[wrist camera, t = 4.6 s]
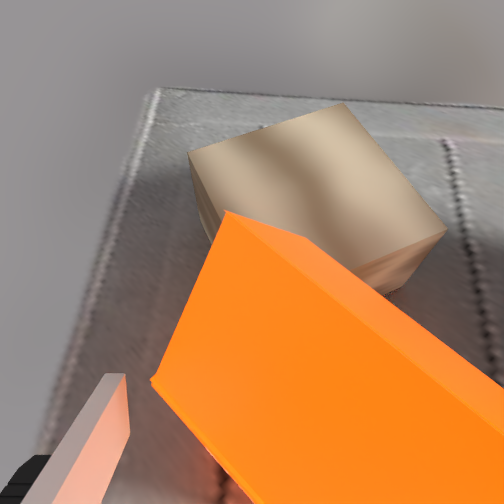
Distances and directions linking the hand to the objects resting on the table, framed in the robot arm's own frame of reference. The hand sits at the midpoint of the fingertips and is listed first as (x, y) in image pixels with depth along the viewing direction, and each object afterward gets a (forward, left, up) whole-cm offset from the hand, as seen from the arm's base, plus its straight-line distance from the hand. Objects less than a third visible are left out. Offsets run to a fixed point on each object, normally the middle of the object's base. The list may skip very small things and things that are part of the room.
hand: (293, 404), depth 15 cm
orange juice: (-1, +1, -11) cm, 11 cm away
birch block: (-7, -11, -11) cm, 17 cm away
